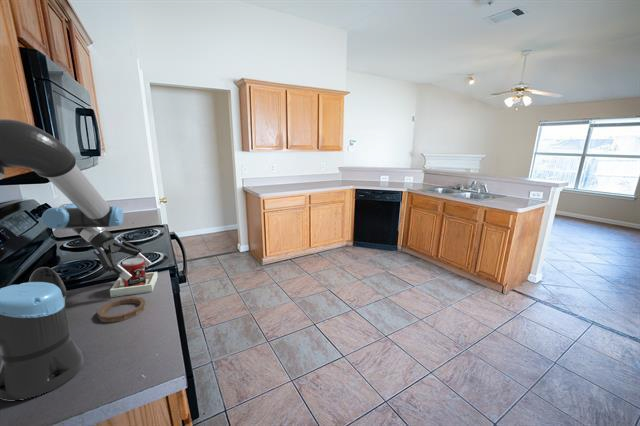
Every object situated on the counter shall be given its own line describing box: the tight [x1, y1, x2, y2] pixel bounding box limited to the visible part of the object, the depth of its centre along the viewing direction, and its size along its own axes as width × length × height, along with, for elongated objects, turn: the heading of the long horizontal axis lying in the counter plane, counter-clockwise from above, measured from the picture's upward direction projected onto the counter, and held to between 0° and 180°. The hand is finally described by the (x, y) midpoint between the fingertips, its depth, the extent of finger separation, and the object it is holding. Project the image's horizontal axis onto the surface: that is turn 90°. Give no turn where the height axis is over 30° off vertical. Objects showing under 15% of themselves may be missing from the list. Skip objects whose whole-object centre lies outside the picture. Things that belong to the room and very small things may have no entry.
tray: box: [109, 271, 159, 298], centre depth 115 cm, size 14×14×3 cm
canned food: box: [121, 257, 146, 287], centre depth 114 cm, size 8×8×11 cm
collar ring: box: [96, 296, 147, 323], centre depth 97 cm, size 13×13×2 cm
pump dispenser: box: [28, 266, 67, 300], centre depth 98 cm, size 10×10×15 cm
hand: (139, 271), depth 114 cm, fingers open, 13 cm apart
